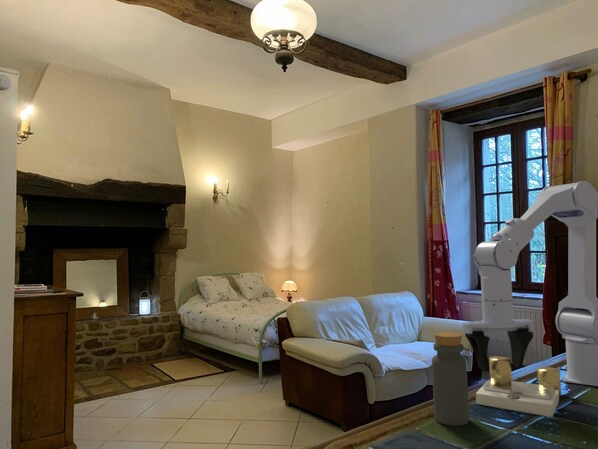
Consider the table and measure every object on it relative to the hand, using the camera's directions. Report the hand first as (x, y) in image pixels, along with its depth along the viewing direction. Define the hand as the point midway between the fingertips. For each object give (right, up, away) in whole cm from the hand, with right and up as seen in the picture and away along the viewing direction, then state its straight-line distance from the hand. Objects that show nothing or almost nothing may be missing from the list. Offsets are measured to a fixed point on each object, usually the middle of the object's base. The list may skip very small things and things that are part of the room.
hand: (500, 367), depth 91 cm
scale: (+2, -6, -3) cm, 7 cm away
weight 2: (+11, -6, +1) cm, 12 cm away
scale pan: (+3, -4, -2) cm, 5 cm away
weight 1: (0, -3, 0) cm, 3 cm away
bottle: (-14, -6, -11) cm, 19 cm away
